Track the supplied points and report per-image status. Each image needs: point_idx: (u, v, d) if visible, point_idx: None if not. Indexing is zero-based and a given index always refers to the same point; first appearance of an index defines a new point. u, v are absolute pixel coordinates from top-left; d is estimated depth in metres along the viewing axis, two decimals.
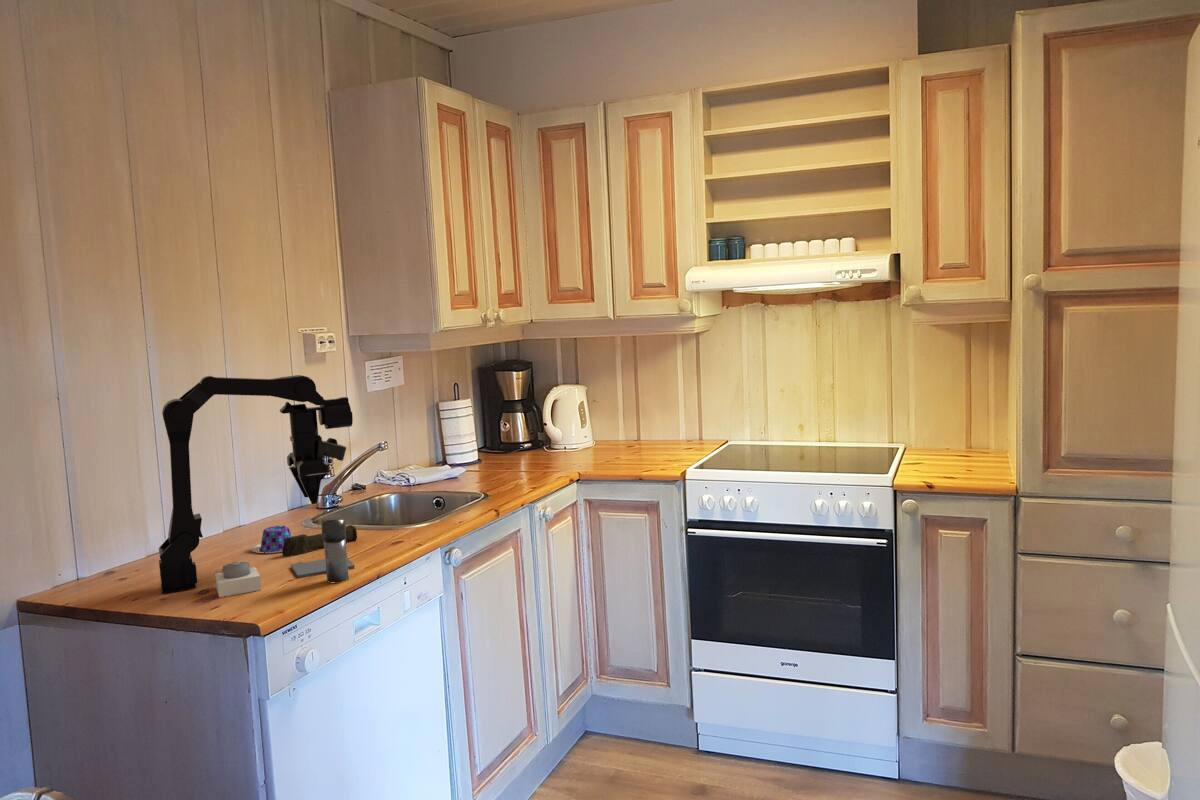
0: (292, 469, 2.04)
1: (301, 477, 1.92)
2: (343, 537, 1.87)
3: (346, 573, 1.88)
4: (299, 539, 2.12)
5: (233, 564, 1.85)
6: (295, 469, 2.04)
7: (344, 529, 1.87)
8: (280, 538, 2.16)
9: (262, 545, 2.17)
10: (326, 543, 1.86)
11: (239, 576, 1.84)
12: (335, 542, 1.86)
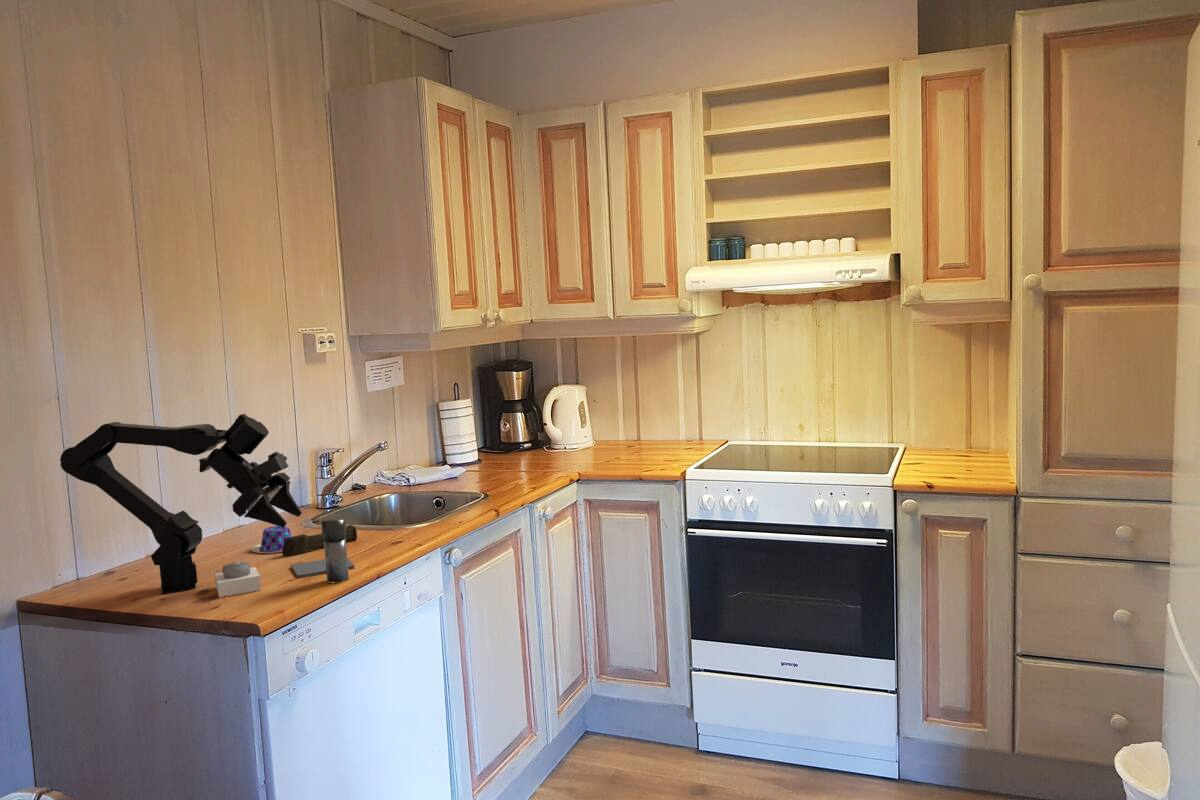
0: (269, 502, 1.93)
1: (245, 516, 1.80)
2: (343, 537, 1.87)
3: (346, 573, 1.88)
4: (299, 539, 2.12)
5: (233, 564, 1.85)
6: (271, 500, 1.93)
7: (344, 529, 1.87)
8: (280, 538, 2.16)
9: (262, 545, 2.17)
10: (326, 543, 1.86)
11: (239, 576, 1.84)
12: (335, 542, 1.86)
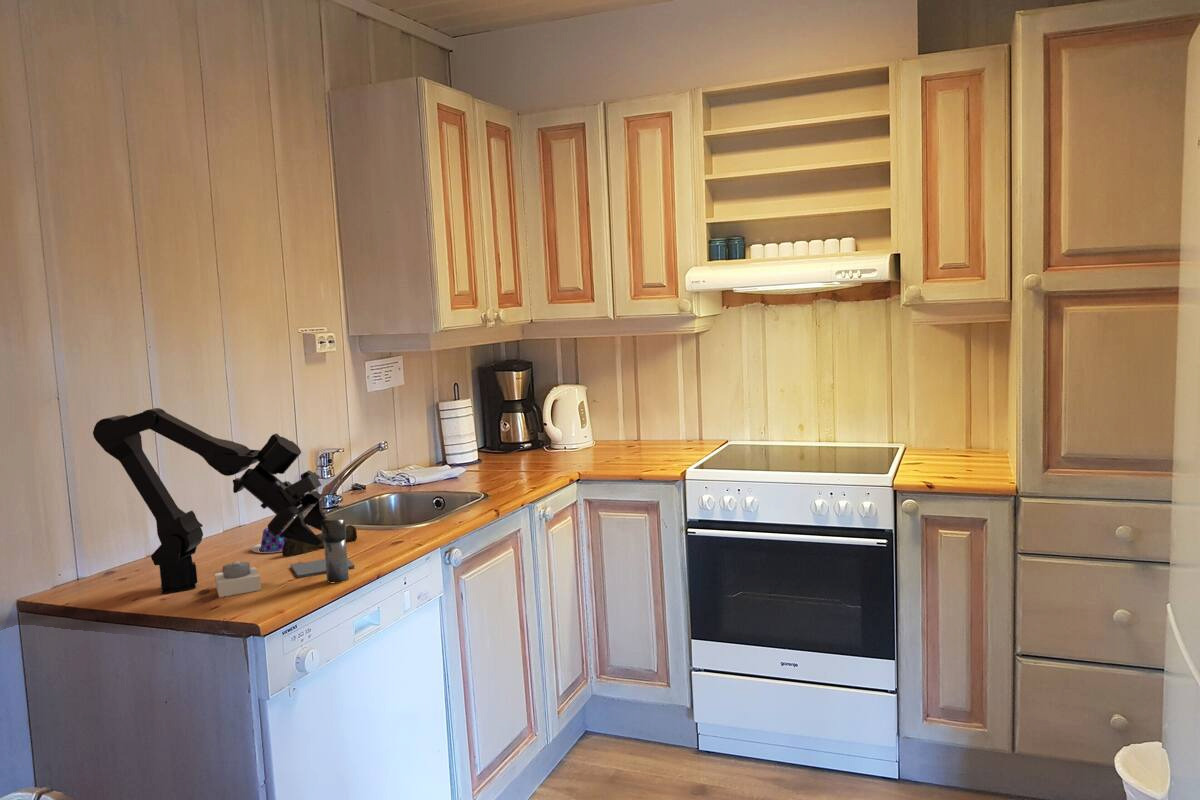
0: None
1: (280, 536, 1.80)
2: (343, 537, 1.87)
3: (346, 573, 1.88)
4: None
5: (233, 564, 1.85)
6: (305, 519, 1.93)
7: (344, 529, 1.87)
8: (280, 537, 2.17)
9: (262, 545, 2.17)
10: (326, 543, 1.86)
11: (239, 576, 1.84)
12: (335, 542, 1.86)
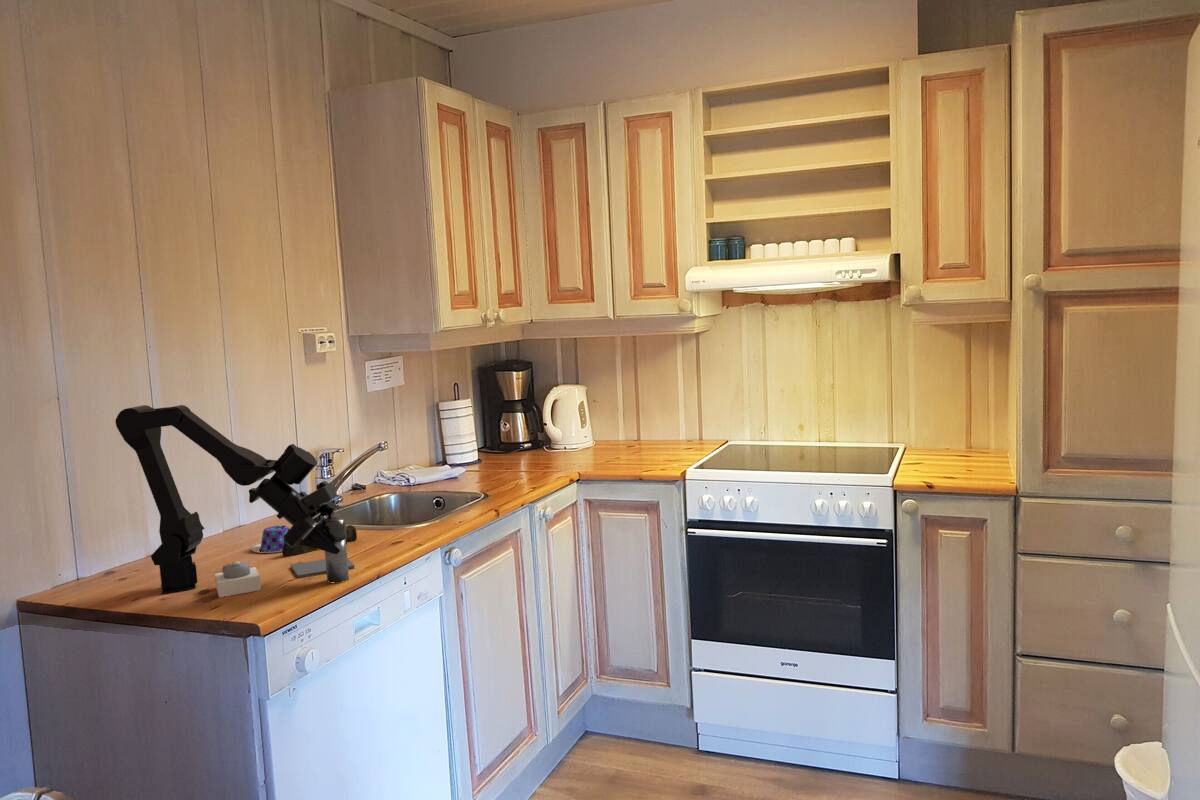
0: None
1: (300, 544, 1.82)
2: (343, 537, 1.87)
3: (346, 573, 1.88)
4: (299, 539, 2.12)
5: (233, 564, 1.85)
6: None
7: (344, 529, 1.87)
8: (281, 537, 2.17)
9: (262, 545, 2.17)
10: None
11: (239, 576, 1.84)
12: (335, 542, 1.86)
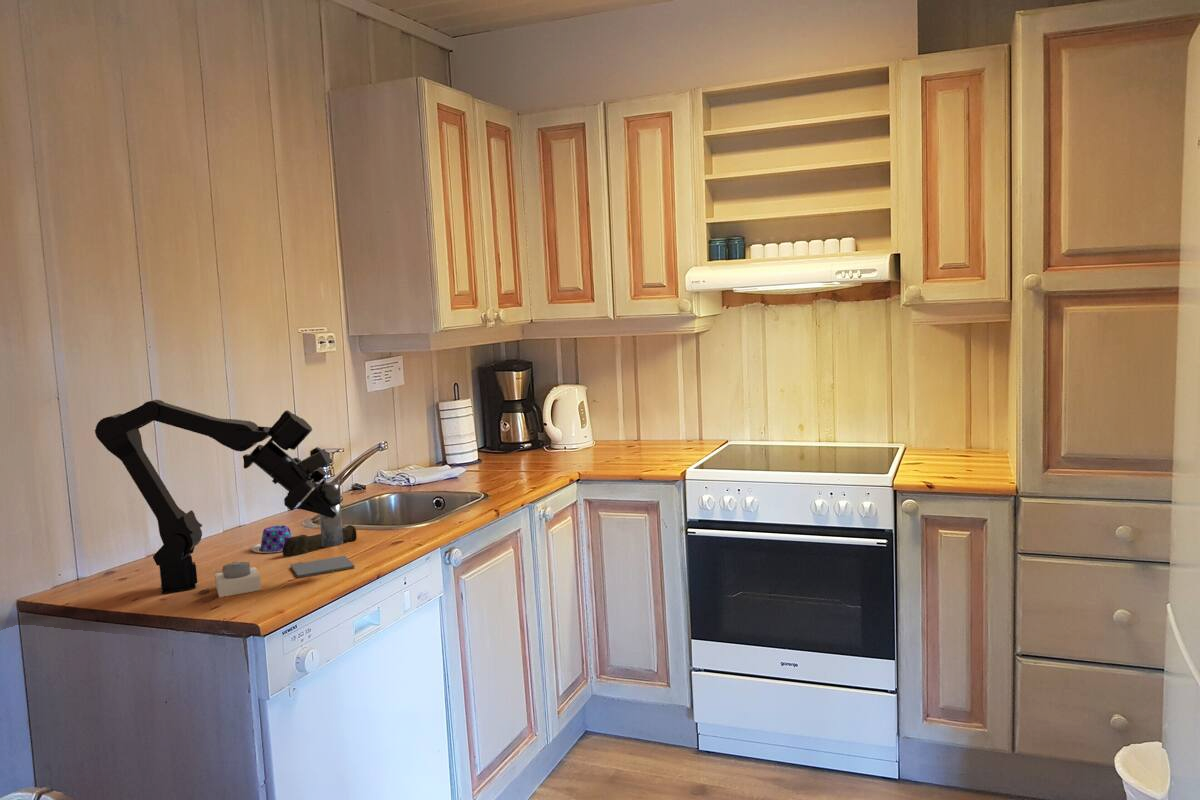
0: None
1: (298, 508, 1.85)
2: (339, 501, 1.91)
3: (341, 537, 1.92)
4: (299, 539, 2.11)
5: (233, 564, 1.85)
6: None
7: (339, 493, 1.91)
8: (281, 537, 2.17)
9: (263, 545, 2.17)
10: None
11: (239, 576, 1.84)
12: (332, 506, 1.90)
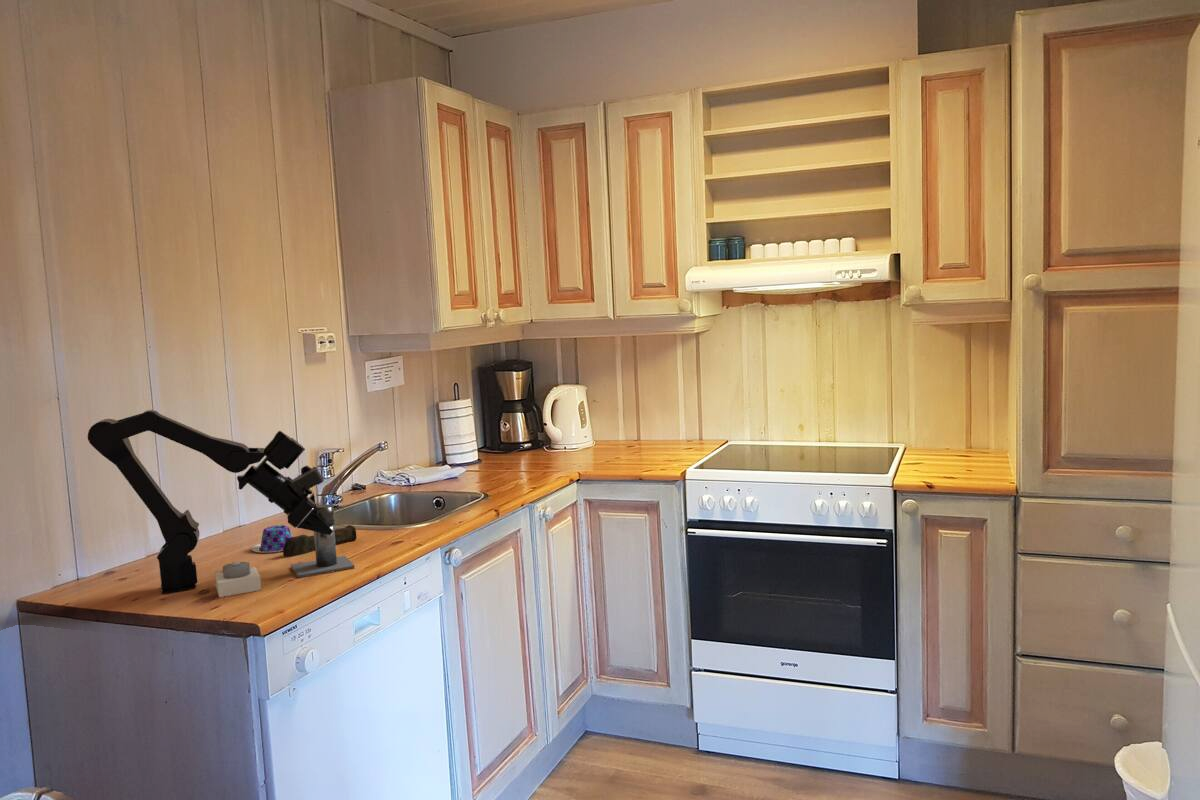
0: None
1: (298, 527, 1.89)
2: (333, 522, 1.98)
3: (336, 557, 1.99)
4: (300, 539, 2.11)
5: (233, 564, 1.85)
6: None
7: (333, 515, 1.99)
8: (282, 537, 2.17)
9: (263, 545, 2.17)
10: None
11: (239, 576, 1.84)
12: None
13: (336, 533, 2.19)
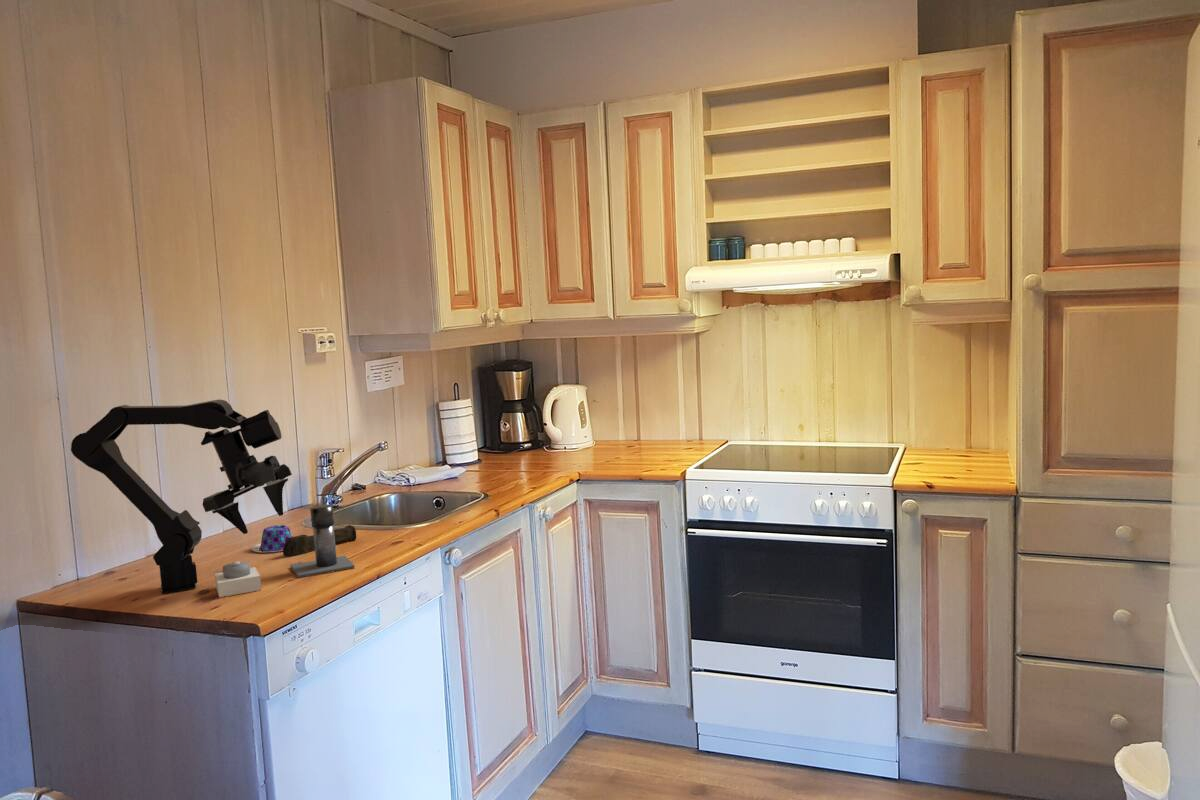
0: (264, 488, 1.95)
1: None
2: (333, 522, 1.98)
3: (335, 556, 1.99)
4: (300, 539, 2.11)
5: (233, 564, 1.85)
6: (266, 488, 1.95)
7: (333, 515, 1.99)
8: (282, 537, 2.17)
9: (263, 545, 2.17)
10: (318, 529, 1.96)
11: (239, 576, 1.84)
12: (327, 528, 1.97)
13: (336, 533, 2.19)
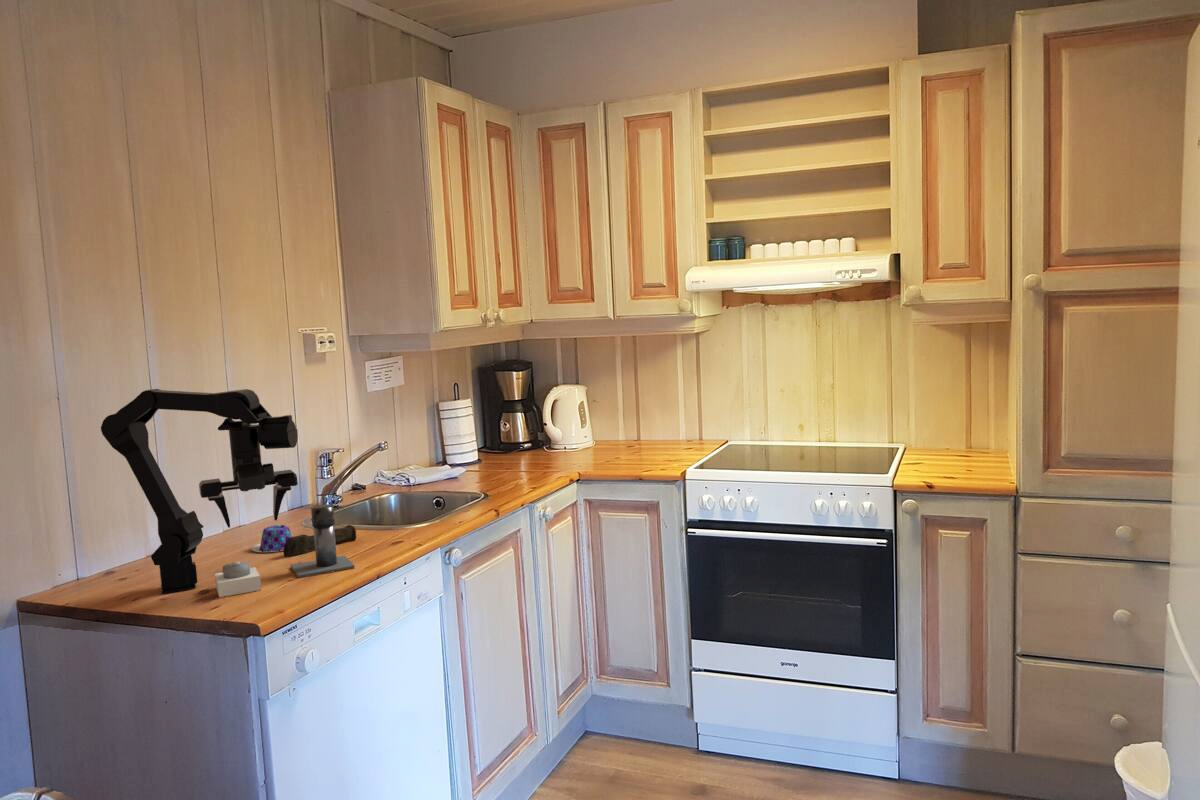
0: (273, 487, 1.92)
1: None
2: (333, 522, 1.98)
3: (336, 557, 1.99)
4: (300, 539, 2.11)
5: (233, 564, 1.85)
6: (274, 488, 1.91)
7: (333, 515, 1.99)
8: (283, 536, 2.17)
9: (263, 545, 2.17)
10: (318, 529, 1.96)
11: (239, 576, 1.84)
12: (328, 528, 1.97)
13: (336, 532, 2.19)
